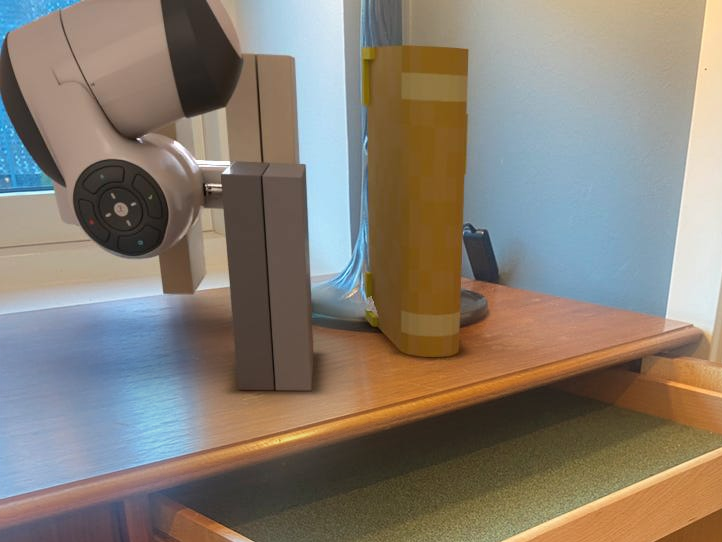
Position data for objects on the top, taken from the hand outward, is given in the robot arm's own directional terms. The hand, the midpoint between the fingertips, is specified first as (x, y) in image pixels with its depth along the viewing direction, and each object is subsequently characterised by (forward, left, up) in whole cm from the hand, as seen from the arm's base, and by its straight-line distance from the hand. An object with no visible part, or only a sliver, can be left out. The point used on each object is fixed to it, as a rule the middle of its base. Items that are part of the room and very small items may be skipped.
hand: (175, 175), depth 99 cm
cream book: (0, -1, -10) cm, 11 cm away
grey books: (+11, -27, -13) cm, 32 cm away
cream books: (+9, -1, -13) cm, 16 cm away
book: (+24, -13, -13) cm, 30 cm away
